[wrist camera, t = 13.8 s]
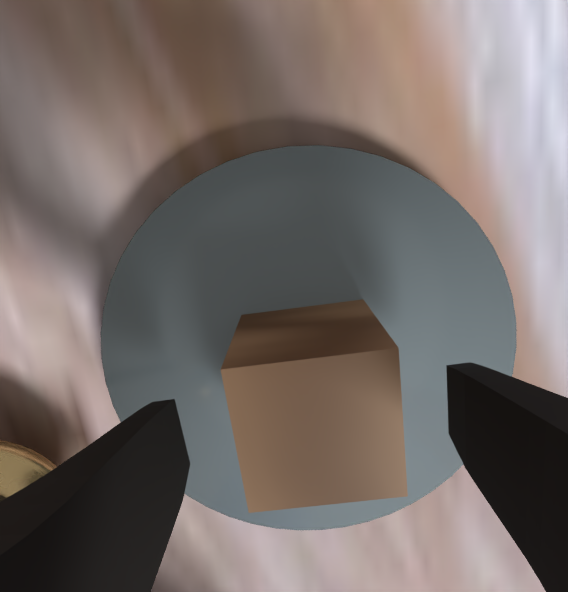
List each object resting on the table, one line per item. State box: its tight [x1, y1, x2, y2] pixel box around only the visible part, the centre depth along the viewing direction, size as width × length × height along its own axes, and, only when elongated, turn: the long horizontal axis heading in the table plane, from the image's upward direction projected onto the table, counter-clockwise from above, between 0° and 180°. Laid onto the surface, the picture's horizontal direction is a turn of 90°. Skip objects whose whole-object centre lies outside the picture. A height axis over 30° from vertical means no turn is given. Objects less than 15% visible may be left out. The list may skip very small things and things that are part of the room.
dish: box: [101, 145, 516, 530], centre depth 13 cm, size 14×14×1 cm
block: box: [221, 299, 408, 513], centre depth 11 cm, size 4×4×4 cm
